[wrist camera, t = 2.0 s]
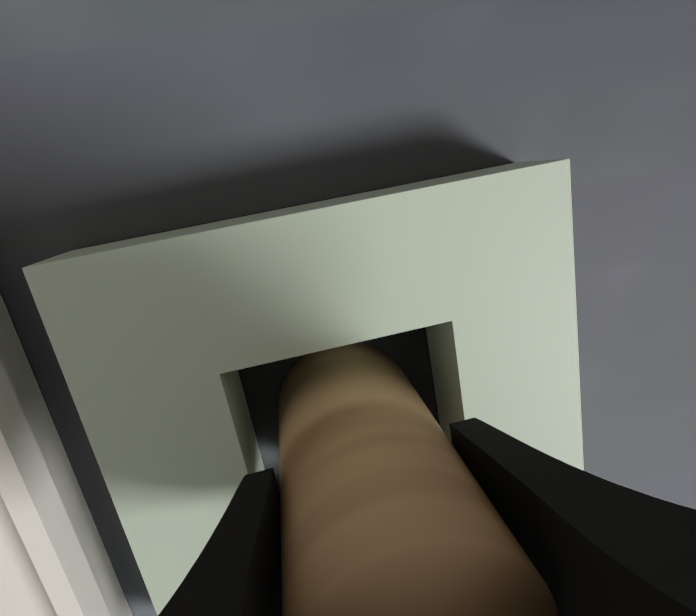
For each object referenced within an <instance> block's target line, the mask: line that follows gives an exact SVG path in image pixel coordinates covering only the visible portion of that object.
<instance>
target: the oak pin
mask: <svg viewBox="0 0 696 616" xmlns="http://www.w3.org/2000/svg"><path fill="white" fill-rule="evenodd" d="M278 424H279V475H280V526H281V578H282V616H558V613H557V607H556V604H555V601H554V598H553V595H552V594H551V592H550V590H549V588H548V586H547V584H546V583H545V581H544V580H543V578H542V577H541V575H540V574H539V572H538V571H537V569H536V568H535V566H534V565H533V563H532V562H531V561H530V559H529V558H528V556H527V555H526V553H525V552H524V550H523V549H522V547H521V546H520V544H519V543H518V541H517V540H516V538H515V537H514V535H513V534H512V532H511V531H510V529H509V528H508V526H507V525H506V523H505V522H504V520H503V519H502V518H501V516H500V515H499V513H498V512H497V510H496V509H495V507H494V506H493V504H492V503H491V501H490V500H489V498H488V497H487V495H486V494H485V492H484V491H483V489H482V488H481V486H480V485H479V483H478V482H477V480H476V479H475V477H474V476H473V475H472V473H471V472H470V470H469V469H468V467H467V466H466V464H465V463H464V461H463V460H462V458H461V457H460V455H459V454H458V452H457V451H456V449H455V448H454V446H453V445H452V443H451V442H450V440H449V439H448V437H447V436H446V434H445V433H444V432H443V430H442V429H441V427H440V426H439V424H438V423H437V421H436V420H435V418H434V417H433V415H432V414H431V412H430V411H429V409H428V408H427V406H426V405H425V403H424V402H423V400H422V399H421V397H420V396H419V394H418V393H417V391H416V390H415V389H414V387H413V386H412V384H411V383H410V381H409V380H408V378H407V377H406V375H405V374H404V372H403V371H402V369H401V368H400V366H399V365H398V364H397V363H396V361H395V360H394V359H393V358H392V357H391V356H390V355H388V354H387V353H386V352H384V351H383V350H381V349H379V348H377V347H375V346H372V345H370V344H367V343H362V342H358V343H353V344H349V345H344V346H340V347H336V348H331V349H327V350H323V351H318V352H314V353H310V354H306V355H305V356H304V357H302V358H301V359H300V360H299V361H298V362H297V363H296V364H295V365H294V366H293V367H292V369H291V370H290V371H289V373H288V374H287V376H286V378H285V379H284V382H283V384H282V387H281V390H280V394H279V400H278Z"/></svg>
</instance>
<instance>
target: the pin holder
mask: <svg viewBox="0 0 696 616" xmlns="http://www.w3.org/2000/svg"><path fill="white" fill-rule="evenodd" d="M22 270H23V273H24V275H25V278H26V281H27V283H28V286H29V288H30V291H31V293H32V296H33V298H34V301H35V304H36V306H37V309H38V311H39V314H40V316H41V319H42V321H43V324H44V327H45V329H46V332H47V334H48V337H49V339H50V342H51V344H52V347H53V350H54V352H55V355H56V357H57V360H58V362H59V365H60V368H61V370H62V373H63V375H64V378H65V380H66V383H67V385H68V388H69V391H70V393H71V396H72V398H73V401H74V403H75V406H76V408H77V411H78V414H79V416H80V419H81V421H82V424H83V426H84V429H85V431H86V434H87V437H88V439H89V442H90V444H91V447H92V449H93V452H94V455H95V457H96V460H97V462H98V465H99V467H100V470H101V472H102V475H103V478H104V480H105V483H106V485H107V488H108V490H109V493H110V495H111V498H112V501H113V503H114V506H115V508H116V511H117V513H118V516H119V519H120V521H121V524H122V526H123V529H124V531H125V534H126V536H127V539H128V542H129V544H130V547H131V549H132V552H133V554H134V557H135V559H136V562H137V565H138V567H139V570H140V572H141V575H142V577H143V580H144V582H145V585H146V588H147V590H148V593H149V595H150V598H151V600H152V603H153V606H154V608H155V611H156V613H157V616H158V615H159V614H160V612H161V611H162V610H163V608H164V607H165V606H166V604H167V603H168V601H169V600H170V599H171V597H172V596H173V594H174V593H175V592H176V590H177V589H178V587H179V586H180V584H181V583H182V581H183V580H184V578H185V577H186V575H187V574H188V572H189V570H190V569H191V567H192V566H193V564H194V563H195V561H196V560H197V558H198V557H199V555H200V554H201V552H202V550H203V549H204V547H205V545H206V544H207V542H208V540H209V539H210V537H211V535H212V533H213V532H214V530H215V528H216V527H217V525H218V523H219V521H220V520H221V518H222V516H223V514H224V512H225V511H226V509H227V507H228V505H229V503H230V501H231V499H232V497H233V496H234V494H235V492H236V490H237V488H238V486H239V484H240V482H241V480H242V479H243V477H244V476H245V475H247V474H251V473H255V472H259V471H263V470H265V468H264V464H263V461H262V457H261V453H260V450H259V446H258V442H257V439H256V435H255V431H254V428H253V424H252V420H251V417H250V413H249V409H248V406H247V402H246V398H245V395H244V391H243V387H242V384H241V380H240V376H239V373H238V370H240V369H244V368H248V367H253V366H257V365H261V364H266V363H270V362H275V361H279V360H283V359H288V358H292V357H296V356H301V355H305V354H310V353H314V352H318V351H323V350H327V349H331V348H336V347H340V346H344V345H349V344H353V343H358V342H362V341H366V340H371V339H375V338H379V337H384V336H388V335H393V334H397V333H401V332H406V331H410V330H414V329H419V328H423V327H426V333H427V340H428V347H429V354H430V361H431V368H432V375H433V382H434V389H435V396H436V403H437V410H438V417H439V424H440V427H441V429H442V430H443V432H444V433H445V434H446V436H447V437H448V439H449V440H450V442H451V443H452V441H451V433H450V426H449V424H450V423H454V422H458V421H462V420H466V419H470V418H474V417H475V418H477V419H479V420H481V421H483V422H485V423H487V424H489V425H491V426H493V427H495V428H497V429H499V430H501V431H502V432H504V433H506V434H508V435H510V436H512V437H514V438H516V439H518V440H520V441H522V442H523V443H525V444H527V445H529V446H531V447H533V448H535V449H537V450H539V451H541V452H543V453H545V454H548V455H550V456H552V457H554V458H556V459H558V460H560V461H562V462H565V463H567V464H569V465H571V466H574V467H576V468H578V469H581V470H583V471H584V464H583V442H582V420H581V398H580V376H579V354H578V332H577V310H576V288H575V266H574V244H573V222H572V200H571V178H570V159H558V160H544V161H530V162H516V163H511V164H506V165H501V166H495V167H490V168H485V169H480V170H475V171H470V172H465V173H460V174H455V175H450V176H445V177H440V178H435V179H430V180H425V181H420V182H415V183H410V184H405V185H400V186H394V187H389V188H384V189H379V190H374V191H369V192H364V193H359V194H354V195H349V196H344V197H339V198H334V199H329V200H324V201H319V202H314V203H309V204H304V205H298V206H293V207H288V208H283V209H278V210H273V211H268V212H263V213H258V214H253V215H248V216H243V217H238V218H233V219H228V220H223V221H218V222H213V223H208V224H203V225H197V226H192V227H187V228H182V229H177V230H172V231H167V232H162V233H157V234H152V235H147V236H142V237H137V238H132V239H127V240H122V241H117V242H112V243H107V244H101V245H96V246H91V247H86V248H81V249H76V250H71V251H69V252H66V253H63V254H60V255H57V256H54V257H52V258H49V259H46V260H43V261H40V262H37V263H34V264H32V265H29V266H26V267H23V268H22Z"/></svg>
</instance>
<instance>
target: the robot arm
mask: <svg viewBox="0 0 696 616" xmlns="http://www.w3.org/2000/svg"><path fill="white" fill-rule="evenodd" d="M449 426H450V433H451V441H452V445H453V446H454V448H455V449H456V451H457V452H458V454H459V455H460V457H461V458H462V460H463V461H464V463H465V464H466V466H467V467H468V469H469V470H470V472H471V473H472V475H473V476H474V477H475V479H476V480H477V482H478V483H479V485H480V486H481V488H482V489H483V491H484V492H485V494H486V495H487V497H488V498H489V500H490V501H491V503H492V504H493V506H494V507H495V509H496V510H497V512H498V513H499V515H500V516H501V518H502V519H503V520H504V522H505V523H506V525H507V526H508V528H509V529H510V531H511V532H512V534H513V535H514V537H515V538H516V540H517V541H518V543H519V544H520V546H521V547H522V549H523V550H524V552H525V553H526V555H527V556H528V558H529V559H530V561H531V562H532V563H533V565H534V566H535V568H536V569H537V571H538V572H539V574H540V575H541V577H542V578H543V580H544V581H545V583H546V584H547V586H548V588H549V590H550V592H551V594H552V595H553V598H554V601H555V604H556V607H557V613H558V616H696V510H695V509H691V508H688V507H684V506H681V505H677V504H674V503H671V502H667V501H664V500H661V499H658V498H655V497H652V496H649V495H646V494H643V493H640V492H637V491H634V490H632V489H629V488H626V487H623V486H620V485H617V484H615V483H612V482H610V481H607V480H604V479H602V478H599V477H597V476H595V475H592V474H590V473H588V472H585V471H583V470H581V469H578V468H576V467H574V466H571V465H569V464H567V463H565V462H562V461H560V460H558V459H556V458H554V457H552V456H550V455H548V454H545V453H543V452H541V451H539V450H537V449H535V448H533V447H531V446H529V445H527V444H525V443H523V442H522V441H520V440H518V439H516V438H514V437H512V436H510V435H508V434H506V433H504V432H502V431H501V430H499V429H497V428H495V427H493V426H491V425H489V424H487V423H485V422H483V421H481V420H479V419H477V418H475V417H474V418H470V419H466V420H462V421H458V422H454V423H450V424H449ZM158 616H282V578H281V526H280V493H279V490H278V486H277V482H276V478H275V475H274V471H273V468H271V469H267V470H263V471H259V472H255V473H251V474H247V475H245V476H244V477H243V479H242V480H241V482H240V484H239V486H238V488H237V490H236V492H235V494H234V496H233V497H232V499H231V501H230V503H229V505H228V507H227V509H226V511H225V512H224V514H223V516H222V518H221V520H220V521H219V523H218V525H217V527H216V528H215V530H214V532H213V533H212V535H211V537H210V539H209V540H208V542H207V544H206V545H205V547H204V549H203V550H202V552H201V554H200V555H199V557H198V558H197V560H196V561H195V563H194V564H193V566H192V567H191V569H190V570H189V572H188V574H187V575H186V577H185V578H184V580H183V581H182V583H181V584H180V586H179V587H178V589H177V590H176V592H175V593H174V594H173V596H172V597H171V599H170V600H169V601H168V603H167V604H166V606H165V607H164V608H163V610H162V611H161V612H160V614H159V615H158Z"/></svg>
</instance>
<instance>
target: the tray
mask: <svg viewBox="0 0 696 616" xmlns="http://www.w3.org/2000/svg"><path fill="white" fill-rule="evenodd" d="M0 616H133V615H132V613H131V610H130V608H129V605H128V603H127V600H126V598H125V596H124V593H123V591H122V588H121V586H120V583H119V581H118V579H117V576H116V574H115V571H114V569H113V566H112V564H111V561H110V559H109V557H108V554H107V552H106V549H105V547H104V544H103V542H102V540H101V537H100V535H99V532H98V530H97V527H96V525H95V523H94V520H93V518H92V515H91V513H90V510H89V508H88V505H87V503H86V501H85V498H84V496H83V493H82V491H81V488H80V486H79V484H78V481H77V479H76V476H75V474H74V471H73V469H72V466H71V464H70V462H69V459H68V457H67V454H66V452H65V449H64V447H63V445H62V442H61V440H60V437H59V435H58V432H57V430H56V427H55V425H54V423H53V420H52V418H51V415H50V413H49V410H48V408H47V406H46V403H45V401H44V398H43V396H42V393H41V391H40V389H39V386H38V384H37V381H36V379H35V376H34V374H33V371H32V369H31V367H30V364H29V362H28V359H27V357H26V354H25V352H24V350H23V347H22V345H21V342H20V340H19V337H18V335H17V332H16V330H15V328H14V325H13V323H12V320H11V318H10V315H9V313H8V311H7V308H6V306H5V303H4V301H3V298H2V296H1V294H0Z"/></svg>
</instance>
